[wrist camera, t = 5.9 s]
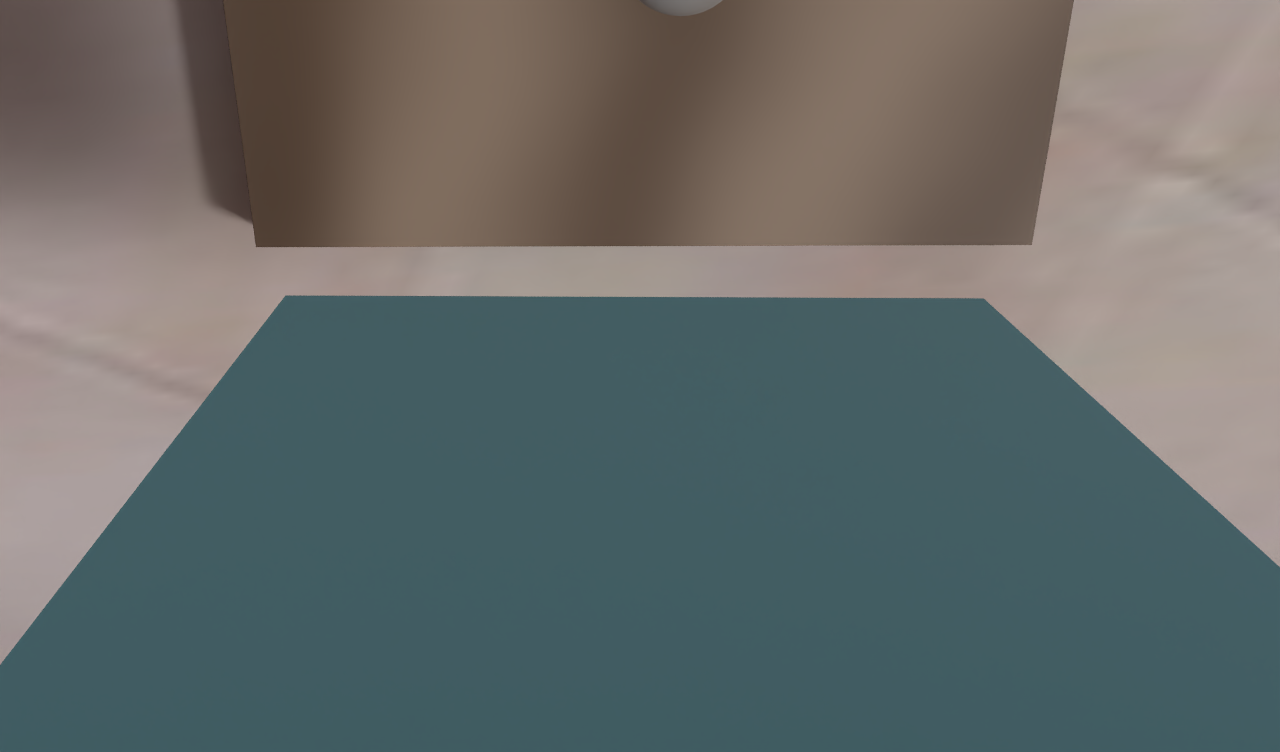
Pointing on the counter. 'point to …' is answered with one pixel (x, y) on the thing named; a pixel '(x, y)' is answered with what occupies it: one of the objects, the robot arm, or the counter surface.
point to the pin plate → (645, 121)
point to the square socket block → (653, 547)
